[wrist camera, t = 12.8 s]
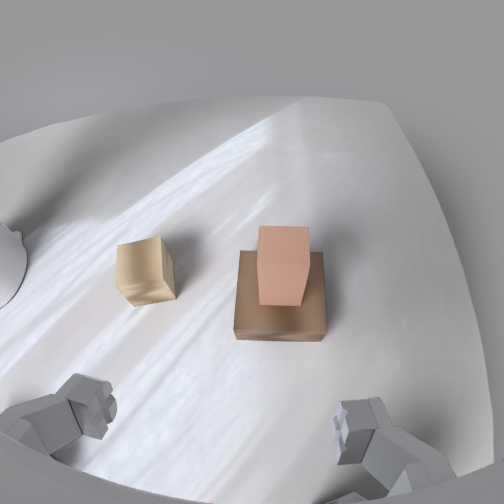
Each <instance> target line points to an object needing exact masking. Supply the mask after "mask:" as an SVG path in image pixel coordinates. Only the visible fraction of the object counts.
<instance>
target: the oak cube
mask: <svg viewBox="0 0 504 504" xmlns="http://www.w3.org/2000/svg"><path fill="white" fill-rule="evenodd" d="M116 288H117V289H118V290H119V291H120V292H121V293H122V294H123V295H124V296H125V297H126V299H127V300H128V301H129V302H130V303H131V304H132V305H133V306H134V307H136V306H142V305H147V304H153V303H158V302H164V301H169V300H175V299H176V291H175V280H174V268H173V260H172V258H171V256H170V254H169V252H168V250H167V248H166V246H165V244H164V242H163V239H162V237H161V236H159V237H154V238H150V239H145V240H141V241H136V242H132V243H127V244H123V245H118V247H117V268H116Z"/></svg>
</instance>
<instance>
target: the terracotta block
mask: <svg viewBox="0 0 504 504" xmlns="http://www.w3.org/2000/svg"><path fill="white" fill-rule="evenodd" d="M309 268H310V249H309V231H308V227H290V226H259V236H258V253H257V272H258V287H259V302H260V305H281V306H301V302H302V298H303V294H304V290H305V286H306V281H307V277H308V273H309Z"/></svg>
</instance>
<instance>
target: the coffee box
mask: <svg viewBox="0 0 504 504" xmlns="http://www.w3.org/2000/svg"><path fill="white" fill-rule="evenodd" d="M362 501H368V500H367V499H366V498H364V497H363V496H361V495H360V494H358V493H356V492H351V493H349V494H347V495H344V496H342V497H339V498H337V499H335V500H332V501H330V502H327V503H324V504H347V503H355V502H362Z"/></svg>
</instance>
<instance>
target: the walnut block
mask: <svg viewBox="0 0 504 504" xmlns="http://www.w3.org/2000/svg"><path fill="white" fill-rule="evenodd" d="M257 253H258V251H241V250H240V260H239V271H238V282H237V293H236V305H235V316H234V328H233V330H234V333H235V336H236V338H237V340H258V341H308V342H315V341H321V340H322V339H323V337H324V335H325V334H326V332H327V325H326V301H325V283H324V267H323V253H322V252H310V268H309V273H308V277H307V281H306V286H305V290H304V294H303V298H302V302H301V306H281V305H260V302H259V287H258V272H257Z"/></svg>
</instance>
